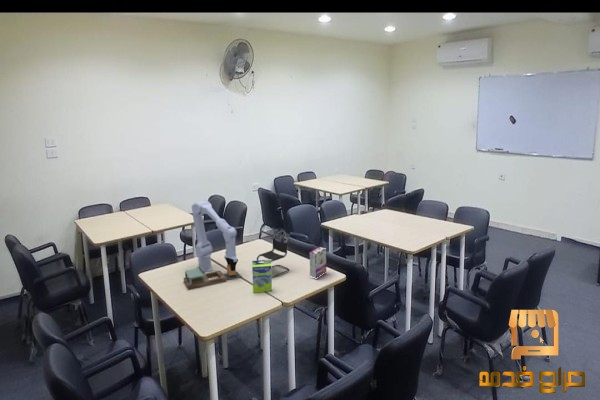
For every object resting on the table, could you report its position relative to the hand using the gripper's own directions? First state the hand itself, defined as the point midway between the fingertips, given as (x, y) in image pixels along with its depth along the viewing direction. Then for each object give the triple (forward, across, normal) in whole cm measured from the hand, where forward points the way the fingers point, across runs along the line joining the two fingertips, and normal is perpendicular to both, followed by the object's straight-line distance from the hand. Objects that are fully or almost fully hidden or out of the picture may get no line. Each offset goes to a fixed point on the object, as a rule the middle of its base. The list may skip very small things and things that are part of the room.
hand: (231, 269), depth 235 cm
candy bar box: (+5, +27, +44) cm, 52 cm away
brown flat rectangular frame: (+4, -1, -16) cm, 17 cm away
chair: (+5, +8, +24) cm, 26 cm away
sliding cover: (+2, -1, -22) cm, 22 cm away
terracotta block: (+3, 0, 0) cm, 3 cm away
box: (+5, +27, +7) cm, 29 cm away
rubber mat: (+4, 0, 0) cm, 4 cm away
